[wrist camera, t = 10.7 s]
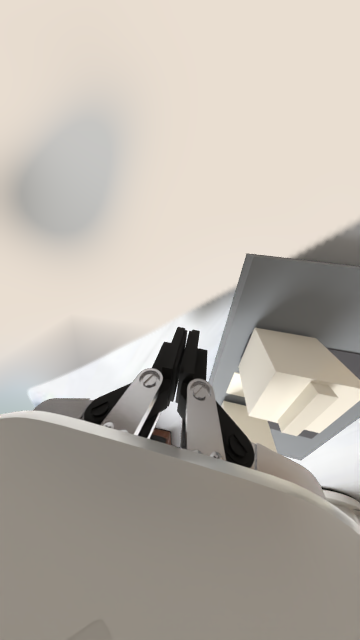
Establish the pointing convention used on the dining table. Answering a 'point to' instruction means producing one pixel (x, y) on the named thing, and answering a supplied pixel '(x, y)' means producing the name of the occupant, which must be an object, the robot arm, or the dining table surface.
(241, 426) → the switch tab
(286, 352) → the switch tab
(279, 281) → the switch panel
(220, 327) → the dining table surface
